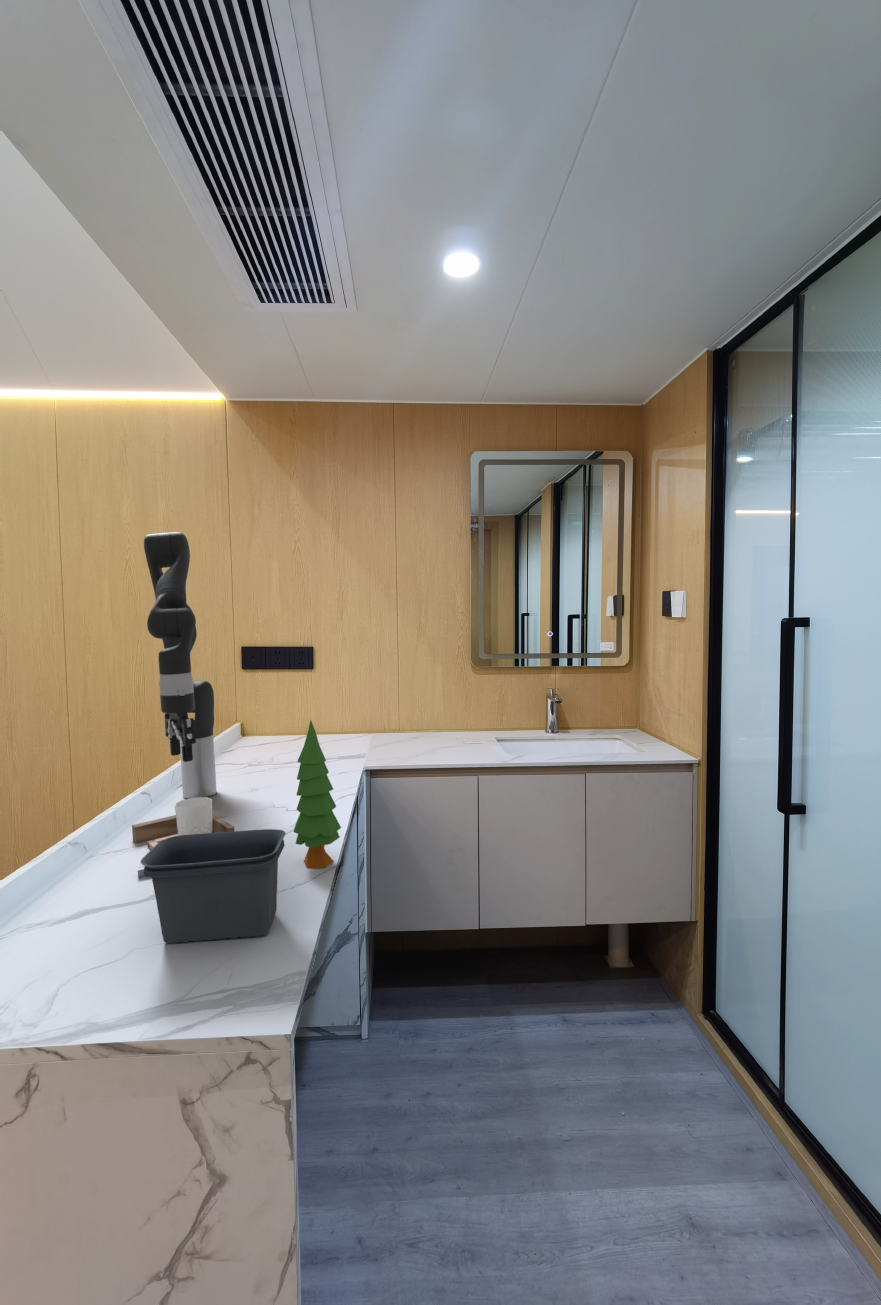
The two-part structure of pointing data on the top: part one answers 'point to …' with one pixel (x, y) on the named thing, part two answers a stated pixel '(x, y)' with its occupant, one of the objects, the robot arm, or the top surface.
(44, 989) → the top surface
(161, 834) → the wooden l-shaped bracket
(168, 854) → the storage bin
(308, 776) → the decorative tree
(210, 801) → the white cup
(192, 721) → the robot arm
